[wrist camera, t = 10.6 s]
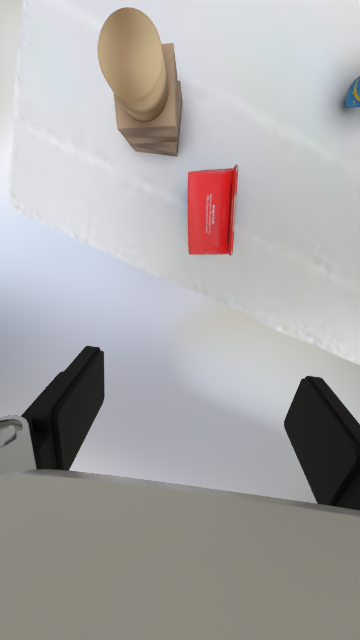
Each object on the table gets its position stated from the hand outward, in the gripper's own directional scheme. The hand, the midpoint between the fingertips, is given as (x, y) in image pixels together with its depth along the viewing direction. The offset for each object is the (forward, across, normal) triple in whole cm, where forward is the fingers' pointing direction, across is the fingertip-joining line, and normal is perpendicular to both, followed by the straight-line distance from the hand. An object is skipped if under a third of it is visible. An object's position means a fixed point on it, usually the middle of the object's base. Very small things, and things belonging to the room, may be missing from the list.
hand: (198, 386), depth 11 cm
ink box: (+31, 0, -8) cm, 32 cm away
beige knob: (+20, +8, -18) cm, 28 cm away
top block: (+25, +8, -18) cm, 32 cm away
